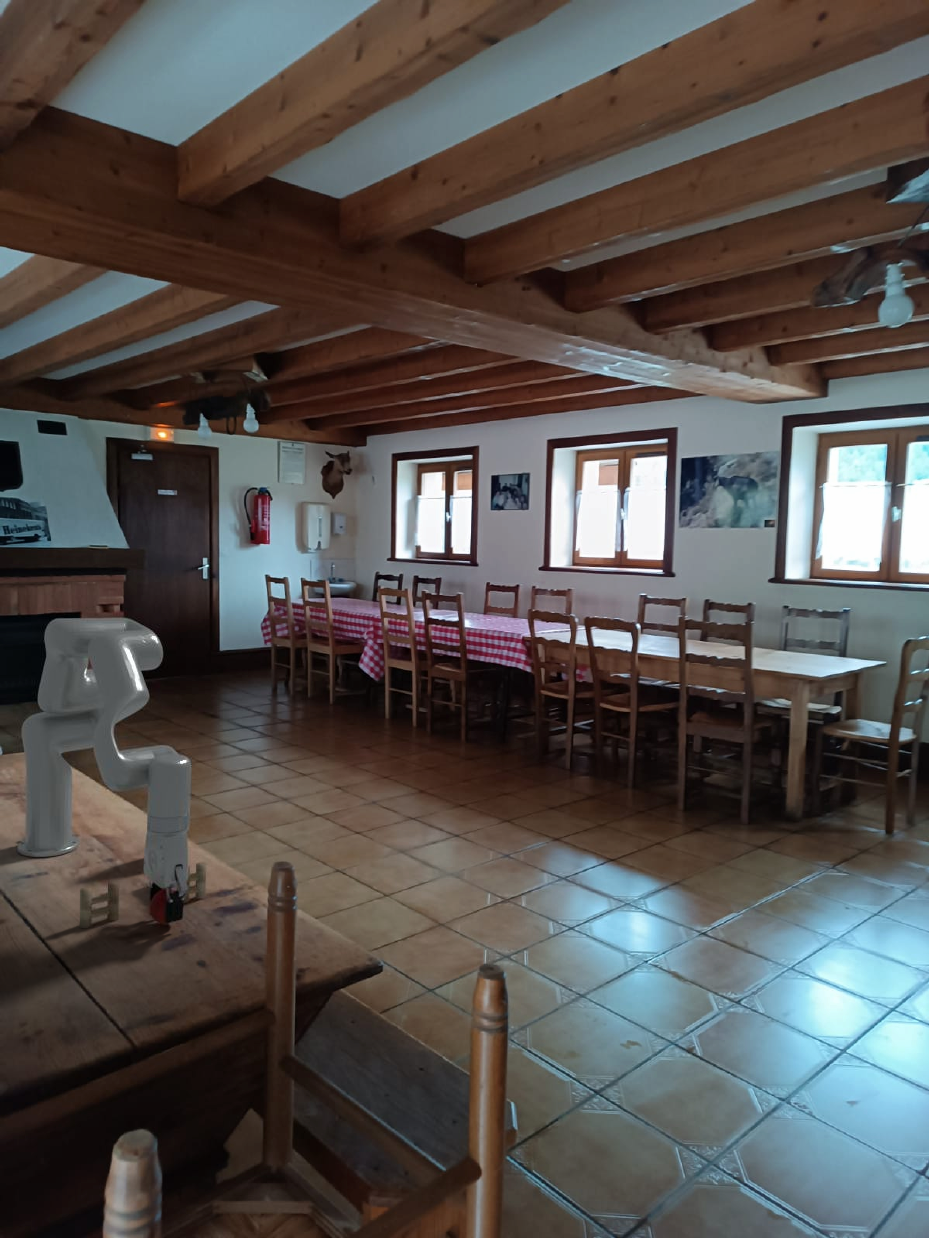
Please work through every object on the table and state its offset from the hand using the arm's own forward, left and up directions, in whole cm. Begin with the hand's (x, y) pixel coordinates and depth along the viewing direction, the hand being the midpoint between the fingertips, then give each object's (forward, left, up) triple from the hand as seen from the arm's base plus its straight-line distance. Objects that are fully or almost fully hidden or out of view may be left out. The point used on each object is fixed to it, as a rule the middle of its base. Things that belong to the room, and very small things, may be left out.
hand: (165, 912), depth 161 cm
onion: (0, 0, -3) cm, 3 cm away
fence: (-8, -1, -2) cm, 8 cm away
